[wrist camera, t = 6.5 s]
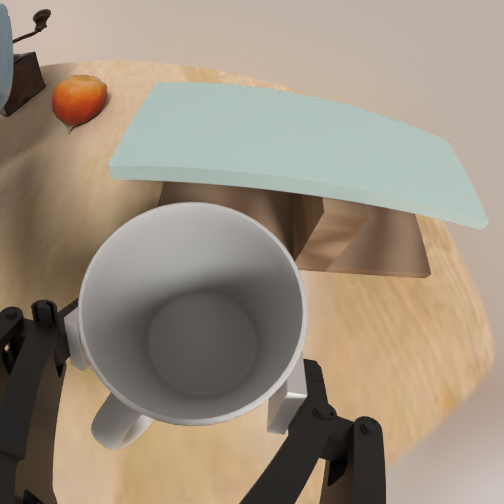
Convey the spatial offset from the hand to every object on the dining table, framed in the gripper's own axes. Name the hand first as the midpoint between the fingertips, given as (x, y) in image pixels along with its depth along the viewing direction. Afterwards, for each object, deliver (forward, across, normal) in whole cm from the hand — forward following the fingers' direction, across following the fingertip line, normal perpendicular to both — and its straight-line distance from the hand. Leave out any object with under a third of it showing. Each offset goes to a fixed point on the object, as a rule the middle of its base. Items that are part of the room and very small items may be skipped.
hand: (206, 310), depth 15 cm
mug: (+1, -1, -5) cm, 6 cm away
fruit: (+18, -26, +12) cm, 33 cm away
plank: (+6, +5, +11) cm, 14 cm away
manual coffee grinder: (+24, -52, +18) cm, 60 cm away
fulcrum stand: (+12, +5, +6) cm, 14 cm away
